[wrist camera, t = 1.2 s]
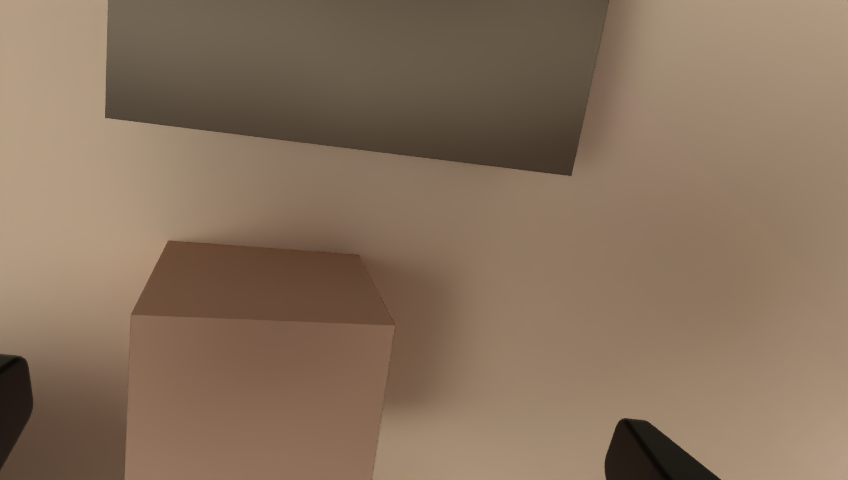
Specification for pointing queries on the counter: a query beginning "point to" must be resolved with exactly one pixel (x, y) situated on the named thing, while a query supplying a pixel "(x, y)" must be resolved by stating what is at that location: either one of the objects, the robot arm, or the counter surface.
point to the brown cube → (256, 366)
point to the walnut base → (364, 73)
